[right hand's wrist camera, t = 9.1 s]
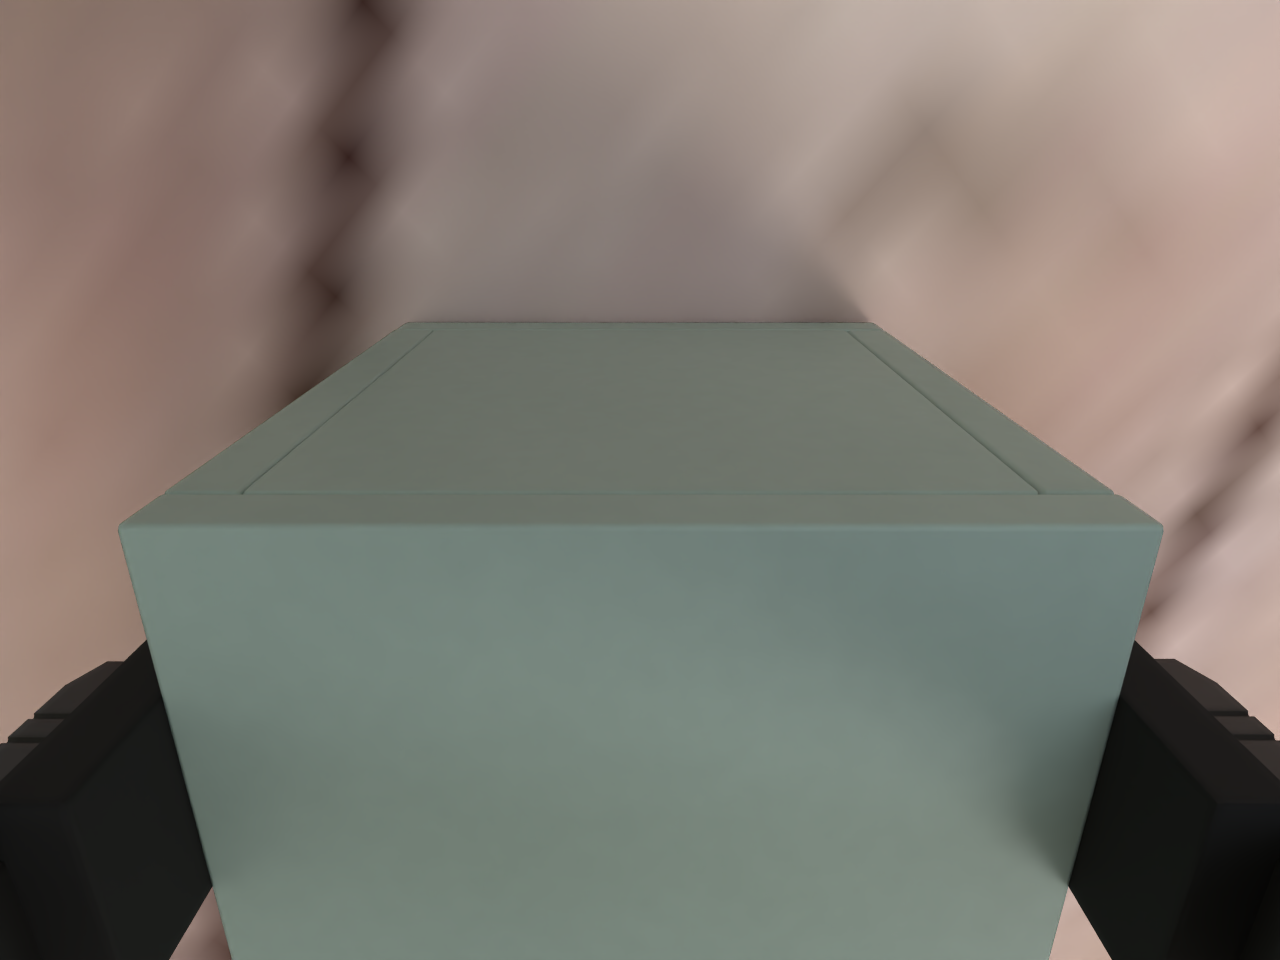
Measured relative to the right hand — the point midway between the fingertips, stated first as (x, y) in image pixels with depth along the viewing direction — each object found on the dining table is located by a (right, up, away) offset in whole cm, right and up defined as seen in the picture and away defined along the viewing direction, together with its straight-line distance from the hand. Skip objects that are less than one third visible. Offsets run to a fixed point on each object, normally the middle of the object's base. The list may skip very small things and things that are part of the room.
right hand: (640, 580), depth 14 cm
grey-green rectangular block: (0, -3, +7) cm, 7 cm away
